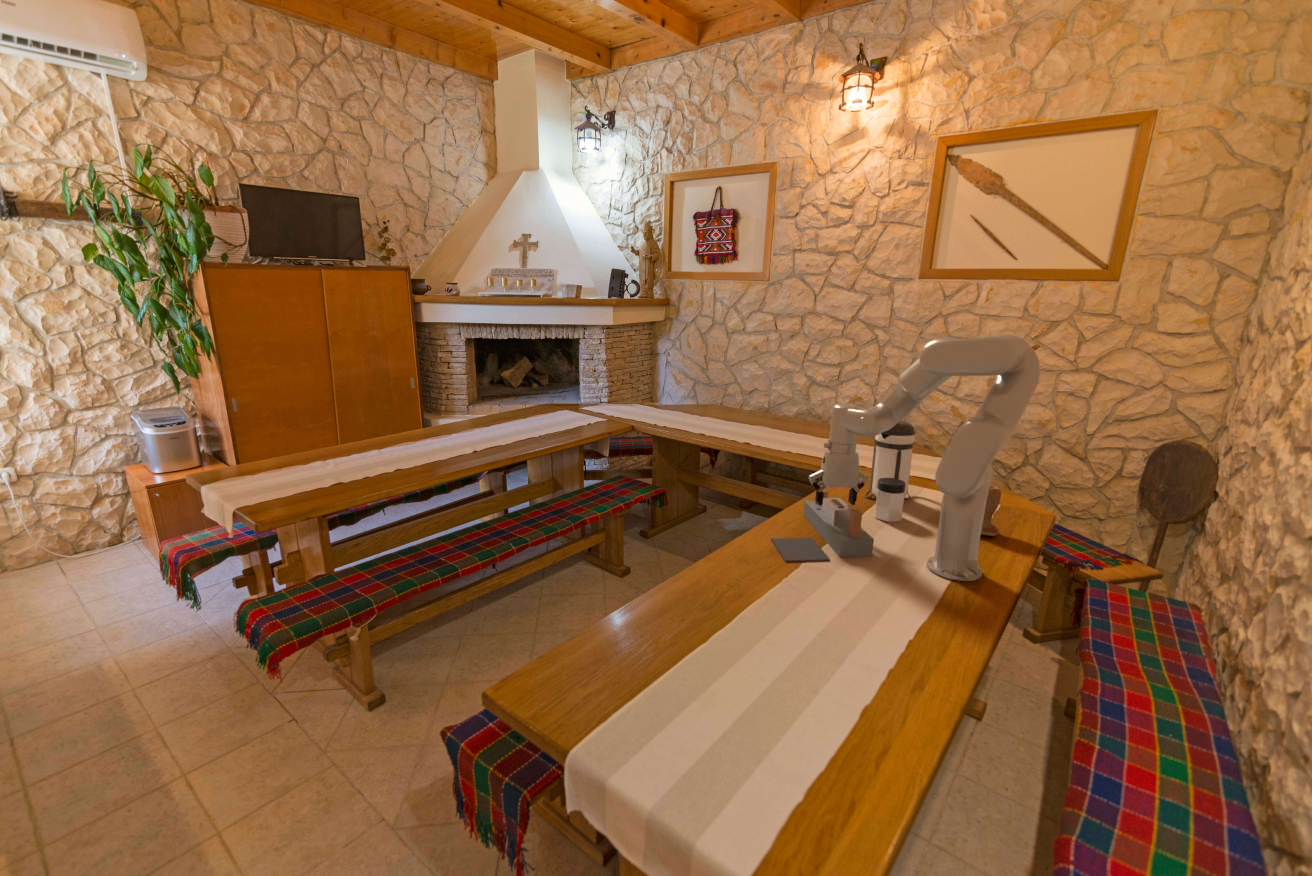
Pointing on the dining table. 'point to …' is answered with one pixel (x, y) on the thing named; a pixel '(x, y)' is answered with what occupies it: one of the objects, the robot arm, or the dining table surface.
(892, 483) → the jar
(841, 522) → the light grey box
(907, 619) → the dining table surface
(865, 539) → the body
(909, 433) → the coffee press
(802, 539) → the rubber mat
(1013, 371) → the robot arm
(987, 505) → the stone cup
